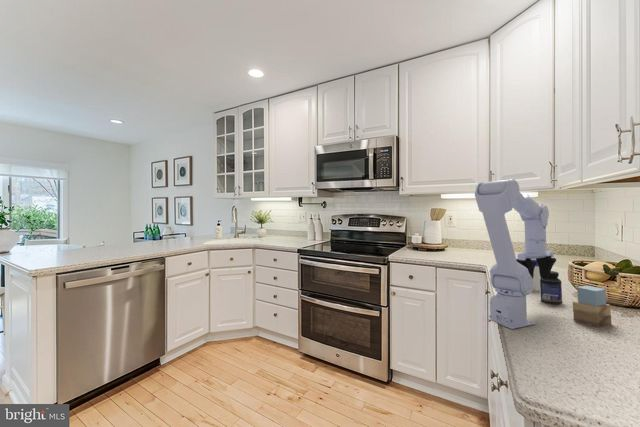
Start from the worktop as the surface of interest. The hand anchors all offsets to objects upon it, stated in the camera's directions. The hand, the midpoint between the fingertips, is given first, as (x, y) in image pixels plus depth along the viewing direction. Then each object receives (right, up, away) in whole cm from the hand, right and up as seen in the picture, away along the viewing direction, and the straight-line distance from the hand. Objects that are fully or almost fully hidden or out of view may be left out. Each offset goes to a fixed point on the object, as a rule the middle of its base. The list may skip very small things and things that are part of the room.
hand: (536, 279), depth 95 cm
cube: (+8, -5, -11) cm, 14 cm away
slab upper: (+8, -8, -11) cm, 15 cm away
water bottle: (+19, -10, +25) cm, 33 cm away
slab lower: (+8, -11, -11) cm, 17 cm away
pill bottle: (+11, -10, +8) cm, 17 cm away
